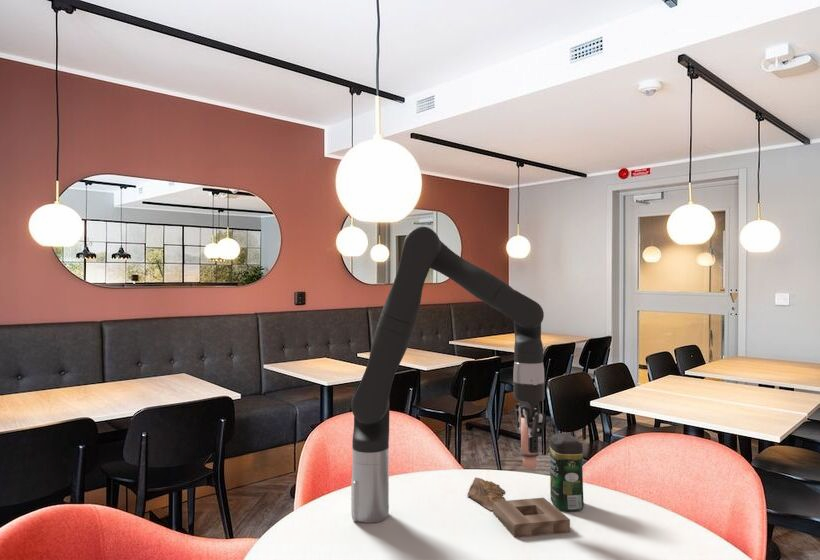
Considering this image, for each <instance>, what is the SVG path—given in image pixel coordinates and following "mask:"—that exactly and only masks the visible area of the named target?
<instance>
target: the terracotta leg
mask: <svg viewBox="0 0 820 560" xmlns="http://www.w3.org/2000/svg"><path fill="white" fill-rule="evenodd" d="M529 423H530V424H533V422H529ZM531 429H532V428H531ZM528 437H529V436H528V428H527V427H526V426H525V418H524V417H521V432H520V456H522V467H523V468H524V469H527V470H533V469H534V470H535V469H536V468H537V457H538V456H539V451H538V452H537V453H530V452H529V451H528Z"/></svg>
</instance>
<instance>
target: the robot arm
mask: <svg viewBox="0 0 820 560" xmlns="http://www.w3.org/2000/svg"><path fill="white" fill-rule="evenodd" d="M440 239H441V238H440V237H439V235H438V234H437V233H436V231H434V230H433V229H432V228H430V227H428V226H417V227H415V228H413V229H411V230H410V231H409V232H408V233H407V234H406V236H405V238H404V241H403V244H402V245H403V246H402V250H401V255H400V259H399V264H398V267H397V271H396V275H395V277H394V281H393V282H392V285H391V288H390V290H389V292H388V294H387V298H386V299H385V303H384V305H383V307H382V310H381V314H380V316H379V319H378V321H377V324H376V328H375V330H374V331H375V332H374V336H373V338H372V339H373V340H372V343H371V347H370V353H369V356H368V357H369V358H368V360H367V364H366V368H365V370H364V373H363V376H362V378H361V380H360V382H359V385H358V387H357V389H356V391H355V393H354V394H353V396H352V399H351V403H350V405H351V406H350V407H351V413H352V414H353V433H352V439H351V440H352V441H351V442H352V447H351V449H352V455H351V456H352V459H351V460H352V466H351V467H352V470H351V471H352V475H351V477H350V478H351V480H350V481H351V485H350V486H351V492H350V493H351V496H350V497H351V498H350V499H351V500H350V501H351V503H350V504H351V505H350V506H351V507H350V509H351V511H350V512H351V517H352V520H353V522H354V523H356V522H358V523H359V522H360V523H367V524H368V523H369V524H371V523H379V522H383V521H384V520H386V519H388V518H389V513H390V504H389V503H390V502H389V500H390V499H389V497H390V496H389V494H390V493H389V492H390V488H389V487H390V485H389V484H390V482H389V479H390V478H389V477H390V476H389V475H390V474H389V472H390V471H389V470H390V469H389V467H390V465H389V463H390V461H389V457H390V456H389V452H390V447H389V446H390V445H389V444H390V394H391V390H392V386H393V382H394V378H395V376H396V373H397V370H398V368H399V367H400V364H401V362H402V360H403V358H404V356H405V354H406V351H407V350H408V347H409V345H410V342H411V339H412V337H413V333H414V330H415V327H416V324H417V322H418V318H419V313H420V307H421V301H422V294H423V289H424V285H425V282H426V278H427V276H428V273H429V271H430V270H434V271H436V272H438V273H439V274H442V275H443V276H445V277H447V278H449V279H450V280H451V281H453V282H454V283H456V284H457V285H458V286H460V287H462V288H463V289H464V290H465V291H467V292H468V293H469V294H471V295H473V296H474V297H475V298H477V299H478V300H480V301H481V302H483V303H485V304H487V306H489V307H491V308H493V309H495V310H496V311H499V312H501V314H503V315H504V316H506V317H507V318H508V319H510V320H512V322H513V329H514V353H513V355H514V356H513V357H514V363H513V376H512V377H513V378H512V379H513V381H512V382H513V399H515V401H519V402H518V403H514V405H513V409H514V410H513V411H514V415H515V423H516V424H515V425H516V428H517V429H519V430H518V431H519V432H520V433H521V417H524V418H525V426H526V427H527V428H528V436H529V437H528V451H529V452H530V453H537V452H538V453H539V438H540V437H541V438H542V437H543V435H544V431H545V426H546V425H545V422H546V414H545V413H541V411H540V402H542V401H544V400H545V397H546V395H545V366H544V345H543V342H542V322H543V320H544V316H545V315H544V314H545V313H544V309H543V307H542V305H541V304H539V302H537V301H536V300H534V299H532V298H531V297H529V296H526V295H525V294H523V293H521V292H519V291H518V290H516V289H514V288H513V287H512V286H511V285H509V284H508V283H506V282H505V281H503V280H502V279H500V278H498V277H497V276H495V275H494V274H493V273H491V272H489V271H488V270H485V269H484V268H481V267H479V265H476V264H473V263H472V262H470V261H468V260H467V259H464V258H463V257H461V256H459V255H458V254H457V253H456V252H454V251H453V250H451V249H450V248H449V247H448V245H445V243H444V242H443V241H442V240H440ZM529 422H533V424H530V423H529ZM531 428H532V429H531Z"/></svg>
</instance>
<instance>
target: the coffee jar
mask: <svg viewBox="0 0 820 560" xmlns="http://www.w3.org/2000/svg"><path fill="white" fill-rule="evenodd" d="M549 455H550V456H549V457H550V459H549V461H550V462H549V464H550V465H549V467H550V468H549V470H550V473H549V474H550V478H549V479H550V480H549V481H550V485H549V487H550V489H549V490H550V493H549V494H550V497H549V498H550V501H551V502H552V503H551V504H552V505H553V506H554V507H556V508H557V509H558V510H559V511H560V510H561V511H566V512H577V511H580V510H583V509H584V479H583V478H584V477H583V476H584V475H583V473H584V471H583V470H584V469H583V459H584V458H583V457H584V447H583V443H582V441H581V440H580V439H578V438H577V437H575V436H574V435H572V434H571V433H568V432H565V433H563V432H562V433H561V432H559V433H554V434H553V435H552V436H550V439H549Z"/></svg>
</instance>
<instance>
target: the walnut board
mask: <svg viewBox="0 0 820 560" xmlns="http://www.w3.org/2000/svg"><path fill="white" fill-rule="evenodd" d="M492 514H493V515H494V517H496V519H497V518H498V519H497V520H499V522H500V523H501V524H502V525H503V526H504V528H505V527H506V528H505V529H506V530H507V531H508V532H509V533H510V534H511V536H513V538H524V537H533V536H534V537H535V536H544V535H554V534H563V533H564V534H565V533H570V532H571V519H570V518H569V516H566V515H565V513H563V512H562V511H560V510H559V509H557V508H556V507H555V506H554V505H553V503H551V502H550V501H548V500H547V498H545V497H537V498H536V497H535V498H534V497H533V498H523V499H512V500H511V499H509V500H505V501H496V502H493V511H492Z"/></svg>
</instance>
